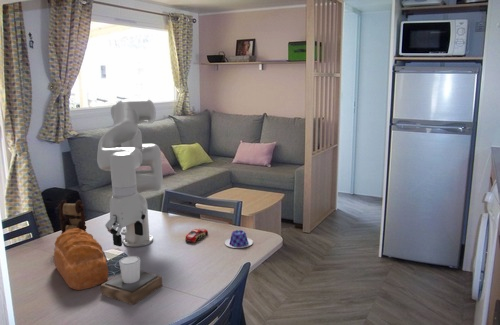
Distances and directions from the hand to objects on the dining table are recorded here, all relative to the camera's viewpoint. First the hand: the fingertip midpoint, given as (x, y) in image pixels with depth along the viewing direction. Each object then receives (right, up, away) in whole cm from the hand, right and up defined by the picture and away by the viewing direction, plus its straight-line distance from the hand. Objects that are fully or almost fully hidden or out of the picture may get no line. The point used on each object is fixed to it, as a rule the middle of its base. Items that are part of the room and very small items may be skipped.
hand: (128, 240), depth 141 cm
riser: (0, -18, +3) cm, 18 cm away
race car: (+17, -8, +48) cm, 52 cm away
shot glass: (0, -14, +2) cm, 14 cm away
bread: (-22, -16, +16) cm, 31 cm away
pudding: (+35, -9, +42) cm, 55 cm away
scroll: (-35, -10, +42) cm, 56 cm away
